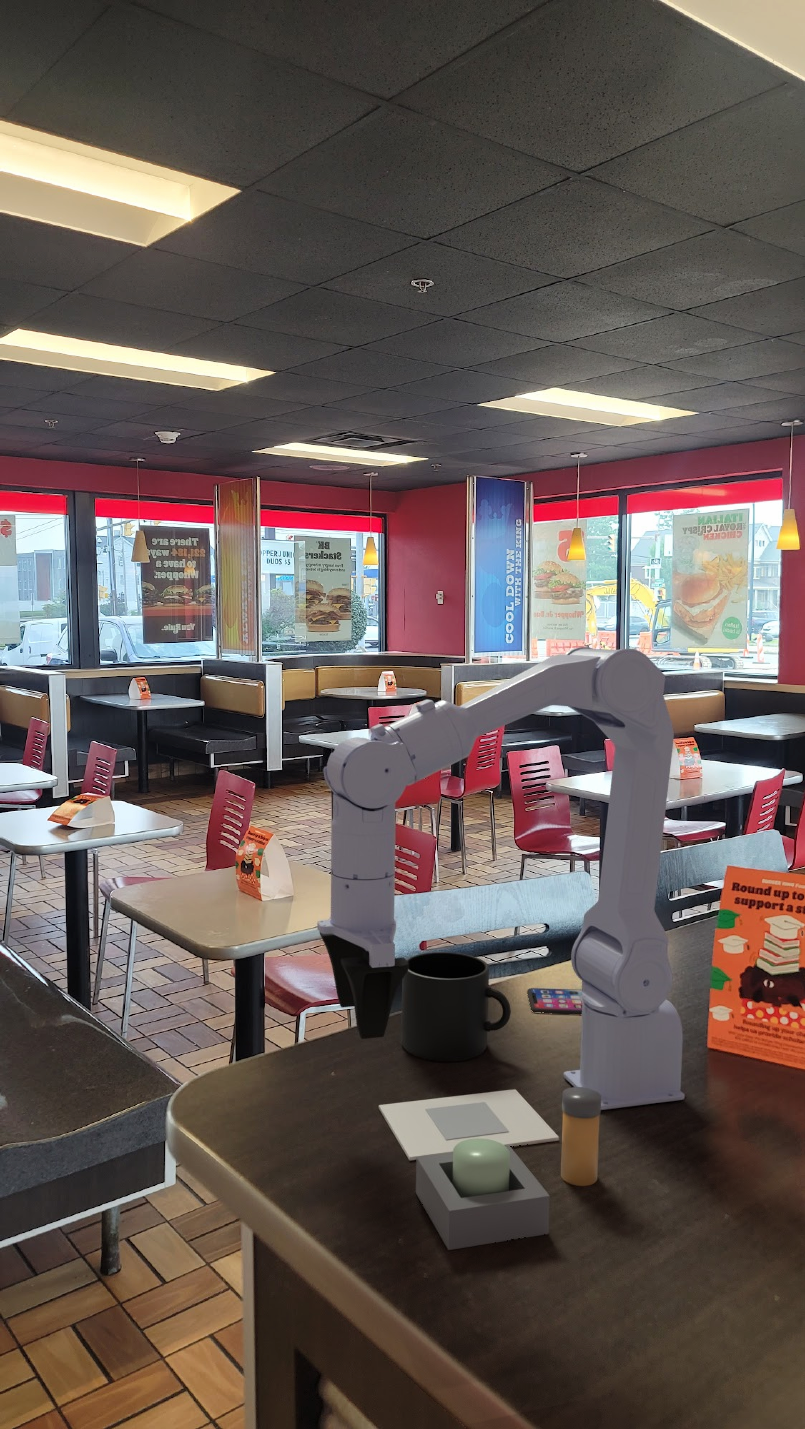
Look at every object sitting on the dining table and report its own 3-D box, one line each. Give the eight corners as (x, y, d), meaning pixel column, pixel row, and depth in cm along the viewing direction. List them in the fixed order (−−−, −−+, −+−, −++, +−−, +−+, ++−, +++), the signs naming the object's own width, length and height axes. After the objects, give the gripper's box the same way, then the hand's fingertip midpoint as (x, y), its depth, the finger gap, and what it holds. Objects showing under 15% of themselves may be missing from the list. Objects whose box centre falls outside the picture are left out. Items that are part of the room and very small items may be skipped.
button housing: (507, 1179, 85) (508, 1144, 85) (548, 1233, 78) (549, 1195, 77) (415, 1192, 83) (416, 1156, 83) (448, 1249, 75) (449, 1210, 75)
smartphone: (658, 1013, 122) (531, 1009, 123) (657, 1021, 123) (531, 1016, 123) (645, 990, 130) (526, 986, 131) (645, 998, 130) (526, 994, 131)
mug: (499, 1072, 106) (501, 987, 105) (389, 1055, 110) (391, 972, 109) (518, 1038, 115) (520, 959, 114) (415, 1024, 119) (417, 947, 118)
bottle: (587, 1164, 88) (590, 1085, 88) (605, 1183, 85) (608, 1101, 84) (553, 1169, 87) (555, 1089, 87) (569, 1188, 84) (572, 1106, 84)
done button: (496, 1171, 83) (497, 1135, 83) (517, 1200, 79) (518, 1162, 78) (444, 1178, 82) (445, 1142, 81) (463, 1208, 77) (464, 1170, 77)
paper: (515, 1092, 102) (515, 1088, 102) (558, 1140, 92) (558, 1136, 92) (378, 1108, 98) (378, 1104, 98) (409, 1160, 88) (409, 1156, 88)
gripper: (303, 857, 98) (302, 996, 99) (337, 895, 84) (335, 1056, 85) (375, 853, 100) (373, 990, 101) (419, 890, 86) (416, 1048, 87)
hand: (361, 1020), depth 93 cm, fingers open, 7 cm apart
